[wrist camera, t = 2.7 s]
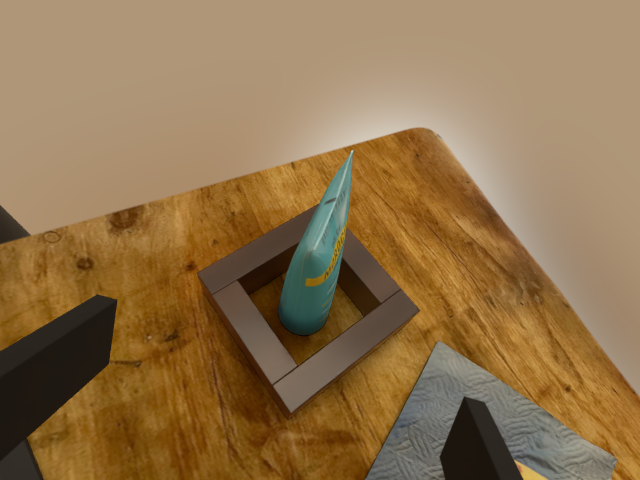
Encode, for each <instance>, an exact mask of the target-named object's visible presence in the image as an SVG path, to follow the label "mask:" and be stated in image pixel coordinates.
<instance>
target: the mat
mask: <svg viewBox="0 0 640 480" xmlns="http://www.w3.org/2000/svg"><path fill="white" fill-rule="evenodd" d="M0 480H43V478H42V475H41V473H40V470H39V468H38V465H37V463H36V461H35V458H34V456H33V453H32V451H31V448H30V446H29V443H28V441H27V438H26V439H25V440H24V441H22V442H21V443H20V444H19V445H18V446H17V447H16V448H15V449H14V450H12V451H11V452H10V453H9V454H8V455H7V456H6V457H5V458H3V459H2V460H1V461H0Z"/></svg>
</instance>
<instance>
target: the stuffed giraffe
mask: <svg viewBox="0 0 640 480" xmlns="http://www.w3.org/2000/svg"><path fill="white" fill-rule="evenodd" d="M464 396H465V397H469V398H472V399H476V400H480V401H483V402H485V404H486V406H487V407H488V409H489V411H490V413H491V415H492V417H493V419H494V421H495V423H496V425H497V427H498V429H499V431H500V433H501V435H502V437H503V439H504V441H505V443H506V445H507V447H508V449H509V451H510V453H511V455H512V457H513V459H514V461H515V463H516V465H517V467H518V469H519V471H520V473H521V475H522V477H523V479H524V480H611V478H612V473H613V470H614V468H615V465H616V462H617V460H618V459H616V458H615V457H613V456H612V455H611V454H609V453H608V452H606V451H605V450H603V449H601V448H599V447H597V446H595V445H593V444H591V443H589V442H588V441H587V440H585V439H583V438H582V437H580V436H579V435H578V434H576V433H575V432H573V431H572V430H571V429H569V428H568V427H566V426H564V425H563V424H562V423H561V422H560V421H559V420H557V419H555V418H554V417H553V416H552V415H551V414H549V413H548V412H546V411H545V410H544V409H542V408H541V407H539V406H537V405H536V404H535V403H533V402H531V401H530V400H529V399H527V398H525V397H524V396H522V395H521V394H519V393H518V392H517V391H515V390H514V389H512V388H511V387H510V386H508V385H507V384H505V383H504V382H502V381H500V380H499V379H498V378H496V377H495V376H493V375H492V374H490V373H489V372H487V371H486V370H484V369H483V368H481V367H480V366H478V365H476V364H475V363H473V362H472V361H470V360H468V359H467V358H465V357H464V356H462V355H461V354H459V353H457V352H456V351H454V350H453V349H451V348H450V347H449V346H447V345H446V344H444V343H442V342H440V341H438V342H437V344H436V346H435V347H434V349H433V352H432V353H431V356H430V358H429V360H428V362H427V364H426V366H425V368H424V370H423V372H422V374H421V376H420V378H419V380H418V382H417V383H416V385H415V387H414V389H413V391H412V392H411V394H410V396H409V398H408V400H407V402H406V404H405V406H404V408H403V410H402V412H401V414H400V416H399V418H398V419H397V421H396V423H395V425H394V427H393V429H392V431H391V432H390V434H389V436H388V438H387V440H386V442H385V444H384V446H383V448H382V449H381V451H380V453H379V454H378V456H377V458H376V460H375V462H374V464H373V466H372V468H371V470H370V472H369V474H368V475H367V477H366V479H365V480H445V476H444V473H443V469H442V465H441V461H440V458H439V457H440V454H441V452H442V449H443V447H444V444H445V442H446V439H447V437H448V435H449V432H450V430H451V427H452V425H453V422H454V420H455V417H456V415H457V412H458V410H459V407H460V405H461V402H462V400H463V398H464Z"/></svg>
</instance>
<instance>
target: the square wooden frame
mask: <svg viewBox="0 0 640 480" xmlns="http://www.w3.org/2000/svg"><path fill="white" fill-rule="evenodd" d="M318 205H319V204H317V205H315V206H314V207H312V208H310V209H308V210H307V211H305V212H303V213H301V214H300V215H298V216H296V217H294V218H293V219H291V220H289V221H287V222H286V223H284V224H282V225H280V226H279V227H277V228H275V229H273V230H271V231H270V232H268V233H266V234H264V235H263V236H261V237H259V238H257V239H256V240H254V241H252V242H250V243H249V244H247V245H245V246H243V247H242V248H240V249H238V250H236V251H235V252H233V253H231V254H229V255H227V256H226V257H224V258H222V259H220V260H219V261H217V262H215V263H213V264H212V265H210V266H208V267H206V268H205V269H203V270H201V271H199V272H198V273H197V275H198V278H199V281H200V283H201V286H202V289H203V292H204V295H205V296H206V298H207V299H208V301H209V302H210V304H211V305H212V307H213V308H214V310H215V311H216V313H217V314H218V316H219V317H220V319H221V320H222V322H223V323H224V325H225V326H226V328H227V329H228V331H229V332H230V334H231V335H232V337H233V338H234V340H235V342H236V343H237V345H238V346H239V348H240V349H241V351H242V352H243V354H244V355H245V357H246V358H247V360H248V361H249V363H250V364H251V366H252V367H253V369H254V370H255V372H256V373H257V375H258V376H259V378H260V379H261V381H262V382H263V384H264V385H265V387H266V388H267V390H268V391H269V393H270V394H271V395H272V397H273V399H274V400H275V402H276V404H277V405H278V407H279V408H280V410H281V411H282V413H283V414H284V416H285V417H286V419H287V420H289V419H290V418H292V417H293V416H294V415H295V414H297V413H298V412H299V411H300V410H302V409H303V408H304V407H305V406H307V405H308V404H309V403H310V402H311V401H313V400H314V399H315V398H316V397H318V396H319V395H320V394H321V393H323V392H324V391H325V390H326V389H328V388H329V387H330V386H331V385H333V384H334V383H335V382H336V381H338V380H339V379H340V378H341V377H343V376H344V375H345V374H346V373H348V372H349V371H350V370H351V369H352V368H354V367H355V366H356V365H357V364H359V363H360V362H361V361H362V360H364V359H365V358H366V357H367V356H369V355H370V354H371V353H372V352H374V351H375V350H376V349H377V348H379V347H380V346H381V345H382V344H384V343H385V342H386V341H387V340H389V339H390V338H391V337H392V336H394V335H395V334H396V333H397V332H398V331H400V330H401V329H402V328H403V327H404V326H405V325H406V324H407V323H408V322H409V321H410V320H411V319H412V318H413V317H414V316H415V315H416V314H417V313H418V312H419V311H420V310H419V308H418V307H417V306H416V305H415V304H414V303H413V302H412V301H411V299H410V298H409V297H408V296H407V295H406V294H405V293H404V291H403V290H402V289H401V288H400V287H399V286H398V285H397V283H396V282H395V281H394V280H393V279H392V278H391V277H390V275H389V274H388V273H387V272H386V271H385V270H384V269H383V268H382V266H381V265H380V264H379V263H378V262H377V261H376V260H375V258H374V257H373V256H372V255H371V254H370V253H369V252H368V250H367V249H366V248H365V247H364V246H363V245H362V244H361V243H360V241H359V240H358V239H357V238H356V237H355V236H354V235H353V233H352V232H351V231H350V230H349V229H348V228H346V235H345V241H344V247H343V253H342V258H341V264H340V269H339V274H338V279H337V283H338V284H339V286H340V287H341V288H342V289H343V290H344V292H345V293H346V294H347V295H348V297H349V298H350V299H351V300H352V301H353V303H354V304H355V305H356V306H357V308H358V309H359V310H360V311H361V312H362V314H363V315H364V317H363V318H362V319H360V320H359V321H358V322H356V323H355V324H354V325H352V326H351V327H350V328H348V329H347V330H346V331H344V332H343V333H342V334H340V335H339V336H338V337H336V338H335V339H334V340H332V341H331V342H330V343H328V344H327V345H326V346H324V347H323V348H322V349H320V350H319V351H318V352H316V353H315V354H314V355H312V356H311V357H310V358H308V359H307V360H306V361H304V362H303V363H302V364H300V365H299V366H298V365H297V364H296V362H295V361H294V359H293V358H292V357H291V355H290V354H289V352H288V351H287V350H286V348H285V347H284V345H283V344H282V342H281V341H280V340H279V338H278V337H277V335H276V334H275V333H274V331H273V330H272V328H271V327H270V326H269V324H268V323H267V321H266V320H265V318H264V317H263V316H262V314H261V313H260V311H259V310H258V309H257V307H256V306H255V304H254V303H253V302H252V300H251V299H250V297H249V296H248V295H249V294H251V293H252V292H254V291H256V290H257V289H259V288H260V287H262V286H264V285H265V284H267V283H268V282H270V281H272V280H273V279H275V278H276V277H278V276H280V275H281V274H283V273H284V272H286V271H288V269H289V266H290V263H291V260H292V258H293V256H294V253H295V251H296V249H297V247H298V245H299V243H300V241H301V239H302V237H303V235H304V233H305V231H306V229H307V227H308V225H309V223H310V221H311V219H312V217H313V215H314V213H315V211H316V209H317V207H318Z"/></svg>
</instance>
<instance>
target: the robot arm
mask: <svg viewBox="0 0 640 480" xmlns="http://www.w3.org/2000/svg"><path fill="white" fill-rule="evenodd" d="M116 306H117V300H116V299H112V298H109V297H105V296H101V295H98V294H97V295H96V296H94V297H92V298H91V299H89V300H87V301H85V302H84V303H82V304H80V305H79V306H77V307H75V308H74V309H72V310H70V311H68V312H67V313H65V314H63V315H62V316H60V317H58V318H56V319H55V320H53V321H51V322H50V323H48V324H46V325H45V326H43V327H41V328H39V329H38V330H36V331H34V332H33V333H31V334H29V335H27V336H26V337H24V338H22V339H21V340H19V341H17V342H16V343H14V344H12V345H10V346H9V347H7V348H5V349H4V350H2V351H0V461H1V460H2V459H3V458H5V457H6V456H7V455H8V454H9V453H10V452H11V451H12V450H14V449H15V448H16V447H17V446H18V445H19V444H20V443H21V442H22V441H24V440H25V439H26V438H27V437H28V436H29V435H30V434H31V433H32V432H34V431H35V430H36V429H37V428H38V427H39V426H40V425H41V424H43V423H44V422H45V421H46V420H47V419H48V418H49V417H50V416H51V415H53V414H54V413H55V412H56V411H57V410H58V409H59V408H60V407H61V406H63V405H64V404H65V403H66V402H67V401H68V400H69V399H70V398H72V397H73V396H74V395H75V394H76V393H77V392H78V391H79V390H80V389H82V388H83V387H84V386H85V385H86V384H87V383H88V382H89V381H91V380H92V379H93V378H94V377H95V376H96V375H97V374H98V373H99V372H101V371H102V370H103V369H104V368H105V367H106V366H107V365H108V364H109V359H110V351H111V344H112V336H113V329H114V321H115V314H116ZM439 458H440V461H441V465H442V469H443V473H444V476H445V480H524V479H523V477H522V475H521V473H520V471H519V469H518V467H517V465H516V463H515V461H514V459H513V457H512V455H511V453H510V451H509V449H508V447H507V445H506V443H505V441H504V439H503V437H502V435H501V433H500V431H499V429H498V427H497V425H496V423H495V421H494V419H493V417H492V415H491V413H490V411H489V409H488V407H487V406H486V404H485V402H483V401H480V400H476V399H472V398H469V397H465V396H464V398H463V400H462V402H461V405H460V407H459V410H458V412H457V415H456V417H455V420H454V422H453V425H452V427H451V430H450V432H449V435H448V437H447V439H446V442H445V444H444V447H443V449H442V452H441V454H440V457H439Z"/></svg>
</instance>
